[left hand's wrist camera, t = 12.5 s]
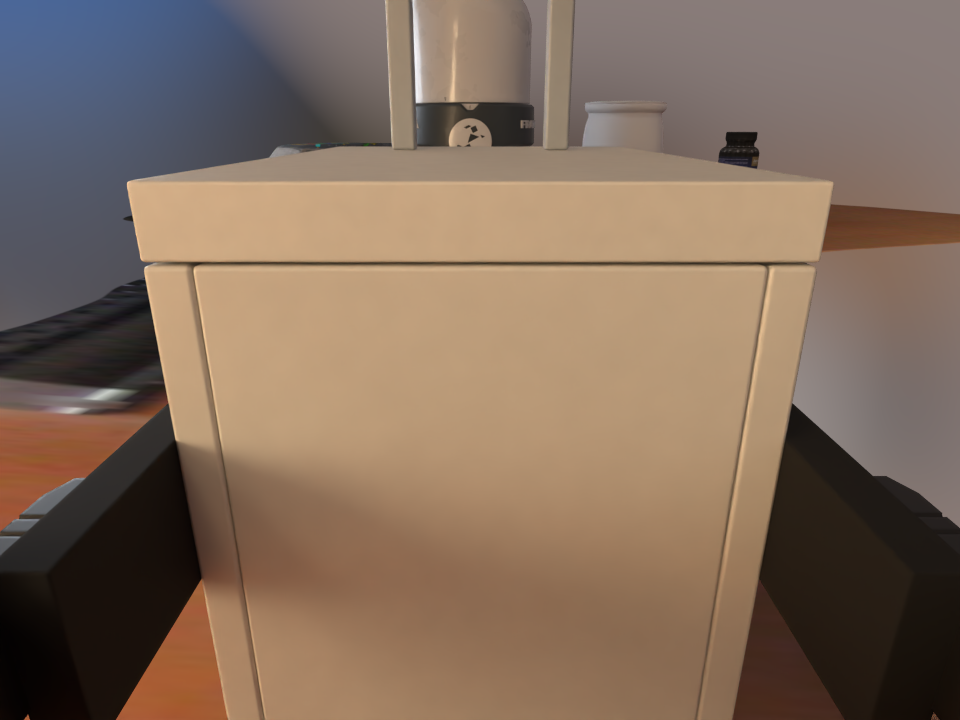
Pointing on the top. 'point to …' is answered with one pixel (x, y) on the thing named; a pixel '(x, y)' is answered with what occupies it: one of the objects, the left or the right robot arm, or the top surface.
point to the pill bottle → (740, 150)
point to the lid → (480, 195)
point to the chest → (480, 479)
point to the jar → (625, 125)
